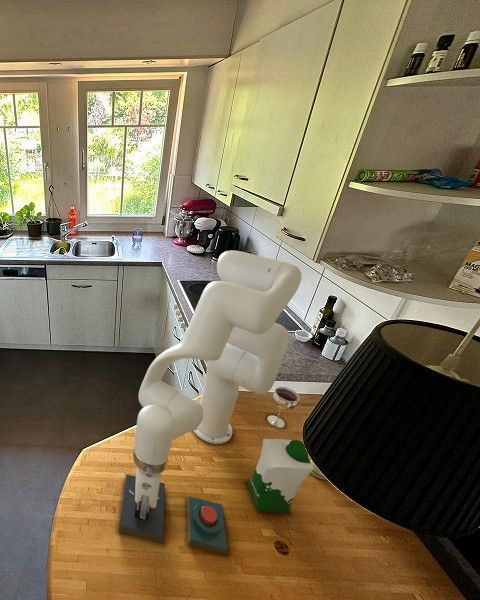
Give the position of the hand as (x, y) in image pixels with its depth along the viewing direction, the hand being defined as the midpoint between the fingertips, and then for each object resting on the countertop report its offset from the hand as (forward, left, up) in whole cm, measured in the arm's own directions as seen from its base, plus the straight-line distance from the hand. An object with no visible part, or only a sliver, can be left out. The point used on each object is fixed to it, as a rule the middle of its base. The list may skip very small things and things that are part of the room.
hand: (142, 503), depth 79 cm
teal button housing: (-1, +15, -3) cm, 16 cm away
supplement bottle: (-24, +47, -3) cm, 53 cm away
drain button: (-1, +15, 0) cm, 15 cm away
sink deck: (-1, 0, -3) cm, 3 cm away
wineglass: (-40, +40, -3) cm, 56 cm away
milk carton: (-12, +31, -3) cm, 33 cm away
